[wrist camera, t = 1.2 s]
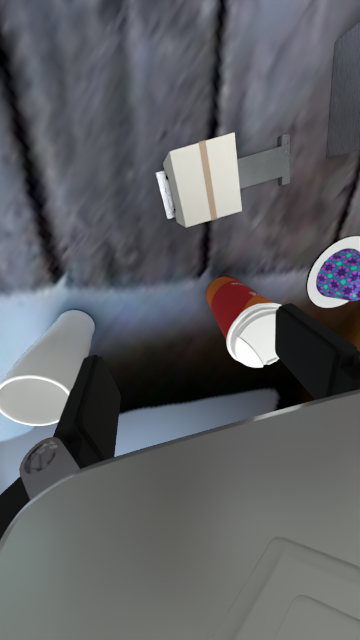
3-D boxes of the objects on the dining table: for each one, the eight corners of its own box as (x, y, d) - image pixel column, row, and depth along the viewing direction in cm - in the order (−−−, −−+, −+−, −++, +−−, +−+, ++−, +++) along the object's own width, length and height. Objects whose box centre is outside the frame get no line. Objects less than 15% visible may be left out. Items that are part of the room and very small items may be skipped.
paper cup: (250, 302, 36) (306, 353, 24) (208, 321, 36) (242, 381, 24) (238, 259, 32) (296, 294, 20) (191, 281, 33) (220, 329, 20)
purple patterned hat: (338, 314, 40) (363, 328, 36) (290, 293, 37) (311, 306, 32) (386, 253, 36) (422, 260, 31) (338, 222, 32) (370, 225, 27)
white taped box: (162, 163, 25) (169, 150, 19) (212, 148, 25) (234, 131, 19) (176, 222, 28) (186, 228, 22) (220, 209, 28) (242, 211, 22)
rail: (155, 173, 25) (156, 172, 24) (285, 135, 26) (294, 131, 24) (167, 218, 28) (168, 219, 27) (285, 183, 28) (293, 182, 27)
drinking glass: (77, 295, 31) (30, 362, 18) (109, 327, 34) (89, 404, 21) (42, 320, 32) (-27, 401, 19) (77, 349, 35) (38, 436, 22)
